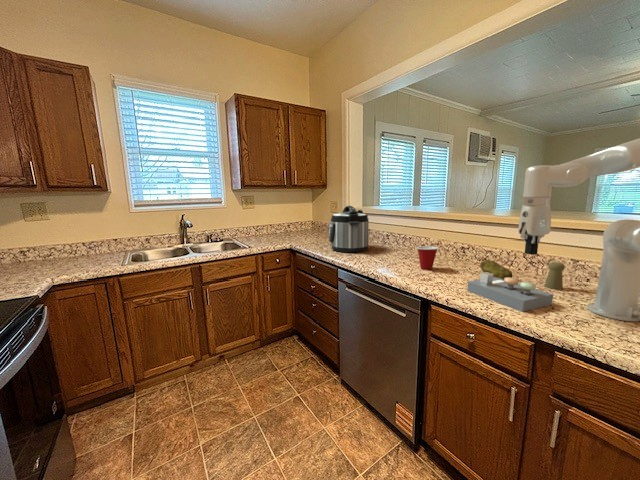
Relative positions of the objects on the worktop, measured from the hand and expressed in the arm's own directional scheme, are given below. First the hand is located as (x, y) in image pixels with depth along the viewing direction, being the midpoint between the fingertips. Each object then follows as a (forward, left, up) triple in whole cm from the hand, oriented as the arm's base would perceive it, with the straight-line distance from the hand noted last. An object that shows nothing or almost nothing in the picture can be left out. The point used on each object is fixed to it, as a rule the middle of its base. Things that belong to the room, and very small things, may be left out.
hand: (530, 253), depth 96 cm
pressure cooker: (+111, +16, -19) cm, 114 cm away
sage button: (-1, 0, -16) cm, 16 cm away
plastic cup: (+50, 0, -19) cm, 54 cm away
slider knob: (+12, +5, -14) cm, 19 cm away
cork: (+6, -29, -19) cm, 35 cm away
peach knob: (+5, 0, -16) cm, 16 cm away
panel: (+6, 0, -19) cm, 20 cm away
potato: (+25, -19, -19) cm, 37 cm away
